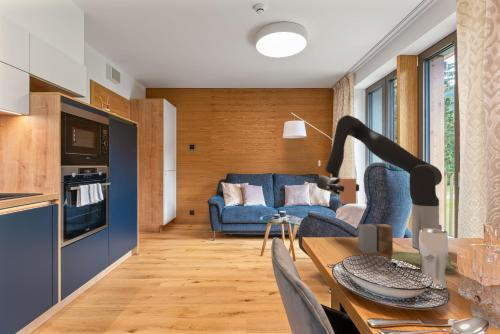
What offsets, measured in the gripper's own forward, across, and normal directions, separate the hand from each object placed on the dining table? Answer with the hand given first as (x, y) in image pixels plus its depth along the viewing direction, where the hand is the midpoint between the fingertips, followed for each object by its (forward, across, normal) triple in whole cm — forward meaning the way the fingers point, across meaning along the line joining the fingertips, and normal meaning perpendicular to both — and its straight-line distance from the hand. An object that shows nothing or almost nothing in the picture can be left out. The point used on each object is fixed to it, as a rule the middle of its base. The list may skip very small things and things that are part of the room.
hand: (350, 188), depth 112 cm
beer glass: (+35, +10, +24) cm, 44 cm away
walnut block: (+4, +11, +24) cm, 27 cm away
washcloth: (+19, +16, +24) cm, 35 cm away
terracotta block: (-3, 0, +6) cm, 7 cm away
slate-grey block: (+4, +5, +24) cm, 25 cm away
